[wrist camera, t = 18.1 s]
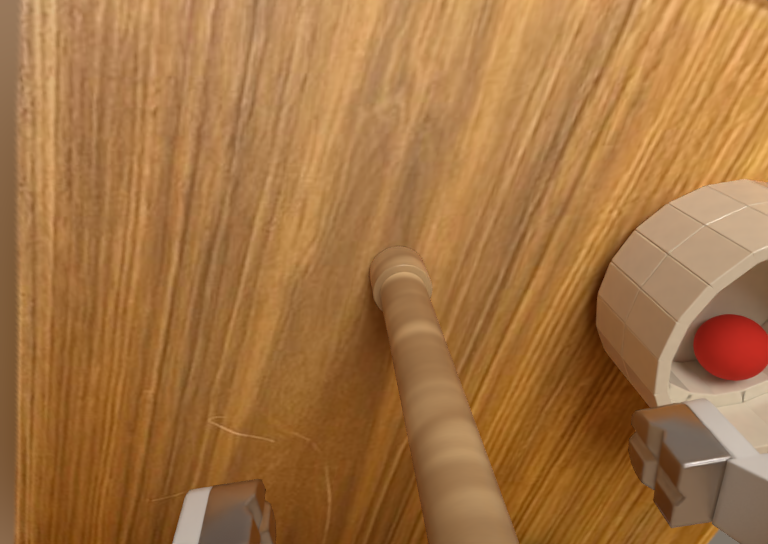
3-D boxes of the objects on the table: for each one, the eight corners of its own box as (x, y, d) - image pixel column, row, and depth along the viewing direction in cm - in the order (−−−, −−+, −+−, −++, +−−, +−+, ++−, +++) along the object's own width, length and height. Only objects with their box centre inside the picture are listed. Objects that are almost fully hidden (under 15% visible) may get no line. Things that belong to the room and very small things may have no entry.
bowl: (595, 197, 24) (671, 253, 19) (835, 157, 24) (977, 201, 19) (586, 390, 29) (644, 476, 24) (784, 355, 30) (885, 433, 24)
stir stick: (390, 235, 24) (584, 895, 6) (435, 263, 25) (720, 914, 7) (358, 279, 25) (448, 973, 7) (403, 304, 26) (584, 981, 8)
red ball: (753, 351, 23) (761, 402, 25) (778, 306, 25) (784, 357, 26) (677, 336, 26) (687, 383, 27) (704, 296, 27) (713, 343, 29)
